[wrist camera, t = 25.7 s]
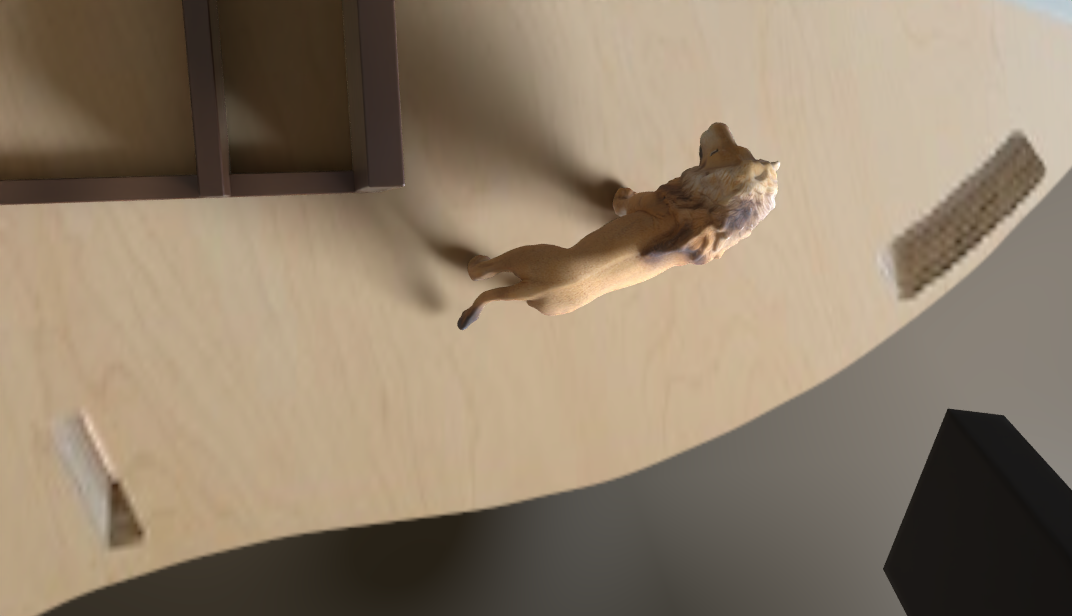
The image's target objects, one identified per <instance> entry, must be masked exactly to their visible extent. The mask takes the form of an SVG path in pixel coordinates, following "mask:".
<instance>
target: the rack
mask: <svg viewBox="0 0 1072 616" xmlns="http://www.w3.org/2000/svg"><path fill="white" fill-rule="evenodd" d="M182 5H183V17H184V28H185V40H186V51H187V63H188V74H189V86H190V97H191V109H192V120H193V132H194V143H195V155H196V166H197V175H168V176H133V177H97V178H61V179H25V180H0V205H17V204H46V203H75V202H105V201H134V200H163V199H193V198H222V197H251V196H281V195H310V194H339V193H368V192H382V191H386V190H391V189H395V188H400V187H403V186H404V185H405V177H404V159H403V141H402V123H401V106H400V88H399V70H398V52H397V34H396V16H395V0H342V11H343V27H344V43H345V58H346V74H347V90H348V105H349V121H350V137H351V152H352V168H353V170H347V171H312V172H276V173H240V174H231V165H230V153H229V141H228V129H227V117H226V104H225V92H224V80H223V68H222V56H221V43H220V31H219V19H218V7H217V0H182Z"/></svg>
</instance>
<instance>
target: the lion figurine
mask: <svg viewBox="0 0 1072 616" xmlns="http://www.w3.org/2000/svg"><path fill="white" fill-rule="evenodd" d="M699 155H700V165H699V166H695V167H693V168H689V169H687V170H685V171H684V172H683V173H682V174H681V177H679V178H675V179H673V180H670V181H669V182H668V183H667V184H664V185H661V186H660V187H659V188H658V189H657V190H656V191H655V192H641V193H636V192H633V191H632V190H631V189H630V188H619V189H618V191H617V192H616V194H615V196H614V200H613V208H614V210H615V214H616V215H619V216H621V217H619V218H617V219H615V220H613V221H611V222H609V223H607V224H606V225H604V226H603V227H601V228H600V229H598V230H596V231H594V232H592V233H590V234H589V235H587V236H585V237H584V238H583V239H582V240H580V241H579V242H578V243H577V244H576V245H574V246H573V247H571V248H568V249H566V248H561V247H558V246H555V245H548V244H538V245H528V246H522V247H519V248H516V249H513V250H510V251H508V252H506V253H504V254H502V255H500V256H498V257H495V258H493V259H490V258H488V257H487V256H482V255H478V256H476V257H474V258H473V259H471V261H470V262H469V263H468V268H467V269H468V273H469V276H470V278H471V279H472V280H474V281H478V280H482V279H488V278H490V277H492V276H494V275H496V274H497V273H500V272H513V273H514V274H515V275H516V276H518V277H519V278H520V279H521V280H522V281H521V282H519V283H517V284H515V285H512V286H508V287H501V288H495V289H491V290H488V291H485V292H483V293H482V294H480V295H479V297H478V298H477V299H476V300H475V301H474V303H473V305H472V306H471V307H470V308H469V309H467V310H465V311H464V312H463V313H462V316H461V317H460V318H459V320H458V323H457V326H458V327H459V329H460V330H464V329H466V328H467V327H468V326H469V325H470V324H471V323H473V322H474V321H476V320H477V319H478V318H479V316H480V313H481V311H482V309H483V307H484V306H485V305H486V304H487V303H489V302H492V301H499V300H505V301H508V300H527V304H528V305H529V306H531V307H534V308H536V309H537V310H539V311H540V312H541V313H543V314H545V315H549V316H551V315H560V314H565V313H569V312H572V311H574V310H576V309H577V308H579V307H581V306H583V305H586V304H587V303H589V302H591V301H592V300H594V299H595V298H597V297H599V296H601V295H603V294H605V293H608V292H611V291H614V290H618V289H621V288H624V287H627V286H631V285H634V284H638V283H641V282H643V281H645V280H647V279H650V278H652V277H654V276H656V275H658V274H660V273H662V272H663V271H665V270H667V269H668V268H670V267H672V266H682V265H685V264H688V263H692V264H696V265H701V264H705V263H707V262H709V261H711V260H712V259H719V258H720V257H721V256H722V254H723V253H724V251H725V250H726V249H728V248H729V247H731V246H733V245H736V244H737V243H738V242H739V240H740V239H743V238H744V239H746V238H747V237H748V236H749V235H750V234H751V230H752V229H754V228H755V227H756V226H757V225H758V223H759V221H762V220H763V219H764V218H765V217H766V216H767V214H768V213H769V212H770V210H772V209H774V207H775V201H774V197H775V196H776V194H777V191H778V188H777V185H778V182H777V174H776V171H777V170H778V168H779V165H780V162H779V161H776V162H772V163H770V162H769V161H765V160H762V159H759V160H756V159H755V158H754V157H753V156H752V154H751V152H750V151H749V150H748V149H747V148H744V147H741V146H737V144H736V143H735V141H734V137H733V135H732V133H731V131H730V129H729V128H728V126H727V125H726V124H723V123H714V124H712V125H711V126H710V127H709V129H708V130H707V131H705V132H704V133H703V134H702V136H701V138H700V152H699Z"/></svg>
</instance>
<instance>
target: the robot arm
mask: <svg viewBox="0 0 1072 616" xmlns="http://www.w3.org/2000/svg"><path fill="white" fill-rule="evenodd" d="M883 570H884V572H885V574H886V575H887V577H888V579H889V581H890V583H891V585H892V587H893V589H894V591H895V593H896V595H897V597H898V599H899V601H900V603H901V605H902V606H903V608H904V610H905V612H906V614H907V616H1072V490H1071V489H1070V488H1069V487H1068V486H1067V485H1066V483H1065V482H1064V481H1063V480H1062V479H1061V478H1060V477H1059V476H1058V475H1057V473H1056V472H1055V471H1054V470H1053V469H1052V468H1051V467H1050V466H1049V465H1048V464H1047V462H1046V461H1045V460H1044V459H1043V458H1042V457H1041V456H1040V455H1039V454H1038V453H1037V451H1036V450H1035V449H1034V448H1033V447H1032V446H1031V445H1030V444H1029V443H1028V442H1027V440H1025V438H1024V437H1023V436H1022V435H1021V434H1020V433H1019V432H1018V431H1017V430H1016V428H1015V427H1014V426H1013V425H1012V424H1011V423H1010V422H1009V421H1008V420H1007V419H1006V417H1005V416H1004V415H996V414H988V413H979V412H972V411H963V410H954V409H947V412H946V414H945V417H944V419H943V422H942V424H941V427H940V429H939V432H938V434H937V437H936V439H935V442H934V444H933V447H932V449H931V452H930V454H929V456H928V459H927V461H926V464H925V467H924V469H923V471H922V474H921V476H920V479H919V481H918V484H917V486H916V489H915V491H914V494H913V496H912V499H911V501H910V504H909V506H908V509H907V511H906V513H905V516H904V519H903V521H902V524H901V526H900V528H899V531H898V533H897V536H896V538H895V541H894V543H893V546H892V548H891V551H890V553H889V556H888V558H887V561H886V563H885V565H884V568H883Z"/></svg>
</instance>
